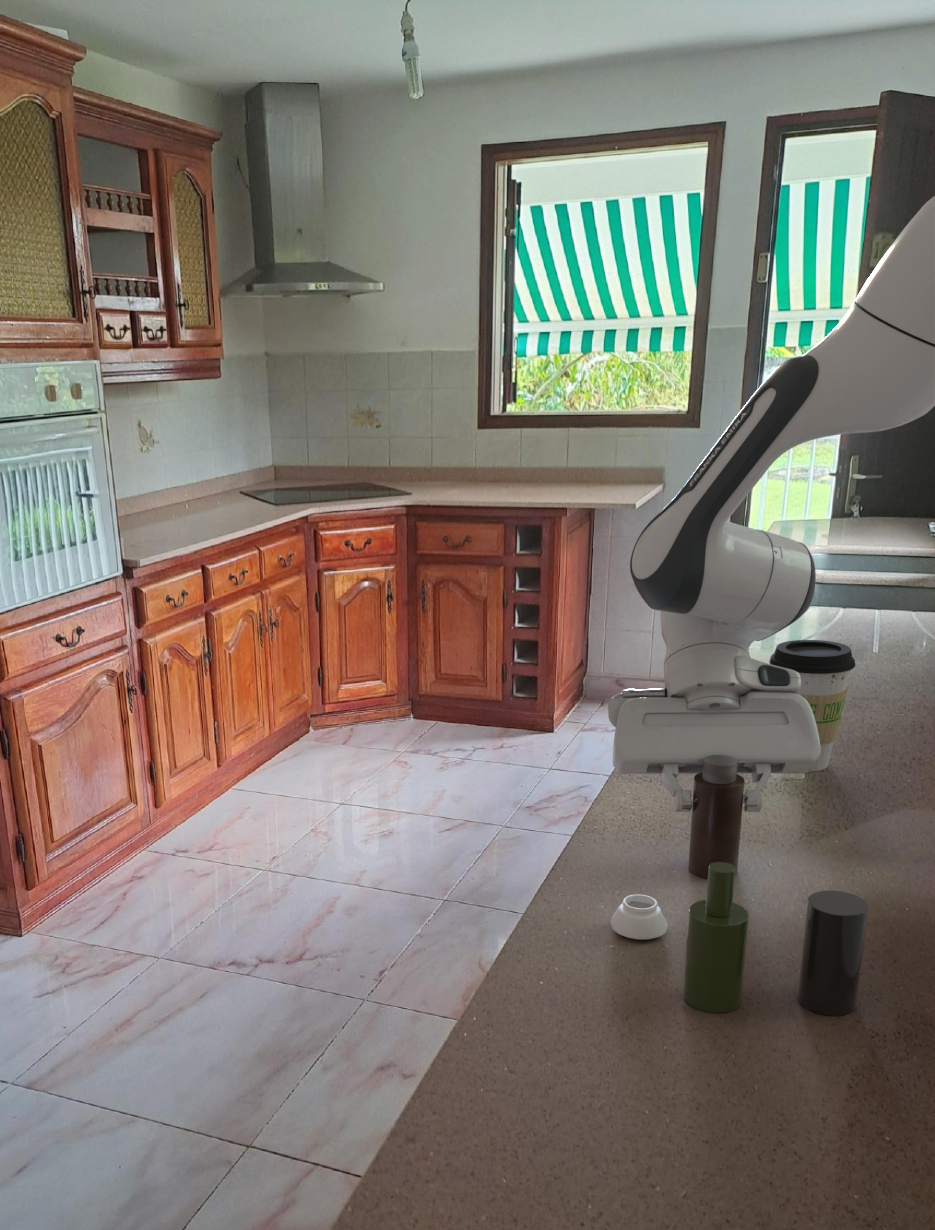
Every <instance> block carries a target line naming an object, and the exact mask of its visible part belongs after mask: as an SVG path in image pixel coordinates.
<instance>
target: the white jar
mask: <svg viewBox="0 0 935 1230" xmlns="http://www.w3.org/2000/svg"><path fill="white" fill-rule="evenodd" d="M668 925H669V923H668V922H667V920H666V918H665V915H664V914H663V911H662V909H661V908H660V906H659V905H658V901H657V899H655V898H654V897H652V896H649V895H646V894H630V895H628V896H625V897H624V898H623V900H622V903H620V905H619V906H618V908H617V909H616V911H615V912H614V914H613V915H612V918H611V920H610V926H611V929H612V931H614V932H615V933H616V934H618V935H620V936H623V937H625V938H628V939H633V940H639V941H641V940H652V939H657V938H659V937H662V936H663V935H664V934H666V933H667V930H668V927H669V926H668Z"/></svg>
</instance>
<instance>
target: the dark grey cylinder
mask: <svg viewBox="0 0 935 1230" xmlns="http://www.w3.org/2000/svg"><path fill="white" fill-rule="evenodd" d="M869 909H870V908H869V904H868V902H867V901H866V900H865V899H863V898H862V897H860V896H858V895H856V894H853V893H850V892H846V891H841V890H820V891H816V892H813V893H812V894H810V895H809V896H808V898H807V905H806V913H805V914H806V915H805V924H804V933H803V942H802V952H801V960H800V961H801V962H800V970H799V971H800V972H799V981H798V988H797V989H798V990H797V1000H798V1003H799V1004H800V1005H802V1007H804V1008H805V1009H806V1010H808V1011H810V1012H813V1013H816V1014H818V1015H824V1016H829V1017H831V1016H832V1017H837V1016H838V1017H840V1016H845V1015H849V1014H852V1013H853V1012H854V1011H855V1009H856V1007H857V1003H858V993H859V985H860V978H861V969H862V963H863V962H862V961H863V955H864V947H865V939H866V933H867V932H866V931H867V923H868V915H869Z"/></svg>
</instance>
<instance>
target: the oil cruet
mask: <svg viewBox="0 0 935 1230" xmlns="http://www.w3.org/2000/svg"><path fill="white" fill-rule="evenodd" d="M735 878H736V875H735V867H734V866H733V865H732V864H729V863H726V862H714V863H711V864H710V865H709V870H708V879H707V884H706V885H707V886H706V889H707V890H706V898H705V899H702V900H699V901H695V902H693V903H692V904H691V905H690V906H689V908H688V915H687V929H686V930H687V931H686V947H685V963H684V979H683V991H682V993H683V994H682V995H683V996H682V997H683V999H684V1001H685V1002H686V1003H687V1004H688V1005H689V1006H691V1007H693V1008H694V1009H697V1010H700V1011H702V1012H706V1013H712V1014H722V1013H723V1014H724V1013H730V1012H733V1011H735V1010H737V1009H738V1008H740V1007H741V1005H742V1000H743V989H744V979H745V978H744V976H745V968H746V967H745V966H746V954H747V942H748V931H749V920H750V914H749V911H748V910H747V909H746V908H745V907H744V906H742V905H740V904H738V903H737V902H733V901H734V893H735V892H734V889H735Z"/></svg>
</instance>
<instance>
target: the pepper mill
mask: <svg viewBox="0 0 935 1230" xmlns="http://www.w3.org/2000/svg"><path fill="white" fill-rule="evenodd" d="M737 762H738V761H737V759H736V758H734V757H731V756H727V755H710V756H707V757H705V758H704V761H703V772H701V773H698V774H694V776H693V787H692V788H693V789H692V809H691V820H690V835H689V849H688V850H689V851H688V867H687V869H688V871H689V872H690V874H693V875H694V876H697V877H699V878H702V879H707V880H708V870H709V865H710V864H711V863H714V862H726V863H729V864H732V865H733V866H734V867H735V876H736V875H737V874H738V869H739V868H738V867H739V854H740V844H741V843H740V842H741V833H742V832H741V831H742V830H741V829H742V818H743V808H744V804H743V795H744V794H745V778H744V777H743V776H742V775H741V774H737Z"/></svg>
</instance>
